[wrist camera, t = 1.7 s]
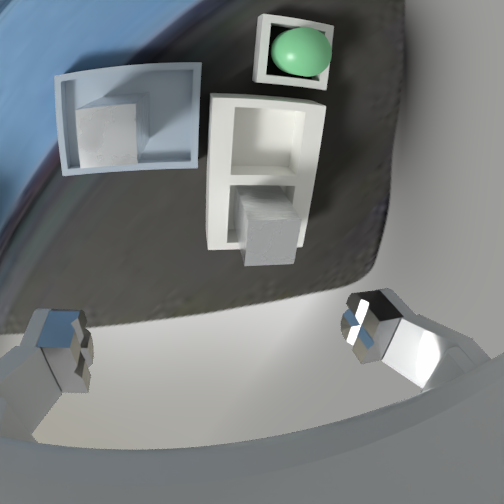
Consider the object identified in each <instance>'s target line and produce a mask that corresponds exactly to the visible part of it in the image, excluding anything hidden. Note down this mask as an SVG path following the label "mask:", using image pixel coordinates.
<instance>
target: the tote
mask: <svg viewBox="0 0 504 504" xmlns="http://www.w3.org/2000/svg"><path fill="white" fill-rule="evenodd" d="M201 68H202V62H177V63H152V64H138V65H126V66H116V67H107V68H99V69H92V70H85V71H79V72H73V73H67V74H62V75H57V76H54V78H55V105H56V120H57V132H58V142H59V151H60V159H61V167H62V174H63V176H69V175H79V174H90V173H102V172H116V171H131V170H151V169H178V168H198V134H199V107H200V86H201ZM136 93H150V139H149V141H148V143H147V145H146V147H145V150H144V152H143V154H142V156H141V158H140V160H139V162H138V164H133V165H117V166H104V167H92V168H80V159H79V150H78V139H77V127H76V111H75V110H76V109H78V108H80V107H82V106H84V105H86V104H88V103H90V102H93V101H95V100H97V99H99V98H101V97H103V96H113V95H123V94H136Z"/></svg>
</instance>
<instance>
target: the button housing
mask: <svg viewBox="0 0 504 504" xmlns="http://www.w3.org/2000/svg"><path fill="white" fill-rule="evenodd" d="M271 26H278V27H285V28H292V29H296V28H300V27H310V28H313V29H316V30H318V31H320V32H321V33H322V34H323V35H324V36H325V37H326V38H327V39H328V41H329V43H330V45H331V49H332V40H333V31H334V26H332V25H328V24H323V23H318V22H313V21H308V20H302V19H297V18H291V17H284V16H277V15H269V14H262V15H260V16H259V17H258V22H257V32H256V43H255V54H254V65H253V77H252V81H254V82H257V83H270V84H281V85H290V86H299V87H307V88H314V89H321V90H326V89H327V81H328V74H329V66H330V63H329V65H328V67H327V68H326V69H325V70H324V71H323V72H322V73H320V74H318V75H315V76H312V79H304V78H296V77H288V76H278V75H268V74H266V70H267V60H268V49H269V39H270V29H271Z"/></svg>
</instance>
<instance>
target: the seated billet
mask: <svg viewBox="0 0 504 504" xmlns="http://www.w3.org/2000/svg"><path fill="white" fill-rule="evenodd" d="M301 222H302V219H301V218H300V216H299V215H298V213H297V212H296V210H295V209H294V207H293V205H292V204H291V202H290V201H289V199H288V198H287V196H286V195H285V193H284V192H283V190H282V189H281V187H280V186H276V185H235V194H234V211H233V225H234V228H235V232H236V236H237V240H238V244H239V247H240V251H241V255H242V259H243V262H244V266H255V265H278V264H294V260H295V254H296V249H297V244H298V238H299V233H300V227H301Z"/></svg>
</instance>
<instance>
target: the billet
mask: <svg viewBox="0 0 504 504" xmlns="http://www.w3.org/2000/svg"><path fill="white" fill-rule="evenodd" d="M75 111H76V127H77V139H78V150H79V159H80V168H92V167H104V166H117V165H133V164H138V162H139V160H140V158H141V156H142V154H143V152H144V150H145V147H146V145H147V143H148V141H149V139H150V93H136V94H123V95H113V96H103V97H101V98H99V99H97V100H95V101H93V102H90V103H88V104H86V105H84V106H82V107H80V108H78V109H76V110H75Z"/></svg>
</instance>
